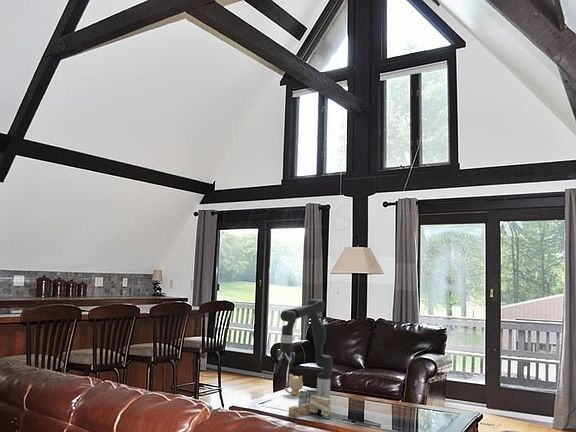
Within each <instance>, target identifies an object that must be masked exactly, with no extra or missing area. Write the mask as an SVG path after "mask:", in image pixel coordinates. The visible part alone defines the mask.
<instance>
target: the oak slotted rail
mask: <svg viewBox="0 0 576 432" xmlns="http://www.w3.org/2000/svg"><path fill="white" fill-rule="evenodd" d="M310 406H311V404H310V403H308V402H305V403H301V404H300V406H297V405H293V406H292V405H291V406H289V407H288V416H287V417H288V418H290V419H296V418H299V417H304V416H307V415H310V414H311V412H310Z"/></svg>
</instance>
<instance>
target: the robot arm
mask: <svg viewBox="0 0 576 432" xmlns="http://www.w3.org/2000/svg"><path fill="white" fill-rule="evenodd" d="M325 307H326V304H325V302H324V300H322V299H318V298H317V299H316V298H309V299H308V302H307V305H302V306H301V305H300V306H298V307H295V308H287V309H284V310H283V311H281V312H280V316H279V317H280V320H282V321H283V322H286V325H283V326H282V329H281V337H280V346H279V347H280V349H276V355H275V360H278V362H277V365H278V367H282V362H283V361H282V360H283V359H284V358H285V359H286V360H288V369H292V367H293V363H294V362H296V351H295V352H294V351H293V352H292V349H293V333H294V327H295V324H296V320H298V319H300V318H303V317H305V316H309V318H310V323H311V328H312V329H311V330H312V337H313V341H314V342H313V343H314V351H315V352H314V353H315V354H314V355H315V364H316V366H317V367H318V368H319V369H320V368H321V369H323V371H322V372H319V373H317V377H316V379H317V380H316V381H317V382H316V396H319V397H323V398H327V399H331V376H332V373H333V363H334V362H333V357H332V356H331V355H326V354H324V351H323V347H324V344H325V343H326V341H327V331H326V327H325V326H324V323H322V321H321V320H320V318H319V315H318V314H320V313H323V312H324V311H325Z"/></svg>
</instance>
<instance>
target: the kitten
mask: <svg viewBox="0 0 576 432" xmlns="http://www.w3.org/2000/svg"><path fill="white" fill-rule="evenodd" d="M288 376H289V377H288V388H289V389H291V390H290V391H289V390H288V388H287V387H285V388H284V391H285V392H287V394H289V395H292V396H299V395H300V397H301V398H303V397H304V398H305V395H306V390H305V389H303V387H304V382H303V375H300V376H298V375H293V374H292V373H289V375H288ZM302 389H303V391H304V393H303V394H302V393H301V392H302Z"/></svg>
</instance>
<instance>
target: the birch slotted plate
mask: <svg viewBox="0 0 576 432" xmlns="http://www.w3.org/2000/svg"><path fill="white" fill-rule="evenodd" d="M316 395H317V394H316ZM316 395H315V394H311V395H310V396H309V397H310V399H309V404H311V406H310V413H313V414H316V413H318V412H319V410H321V411H320V412H321V413H320V414H321V416H325V417H328V416H330V415H331V398H330V399H327V398H323V397H319V396H316Z"/></svg>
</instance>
